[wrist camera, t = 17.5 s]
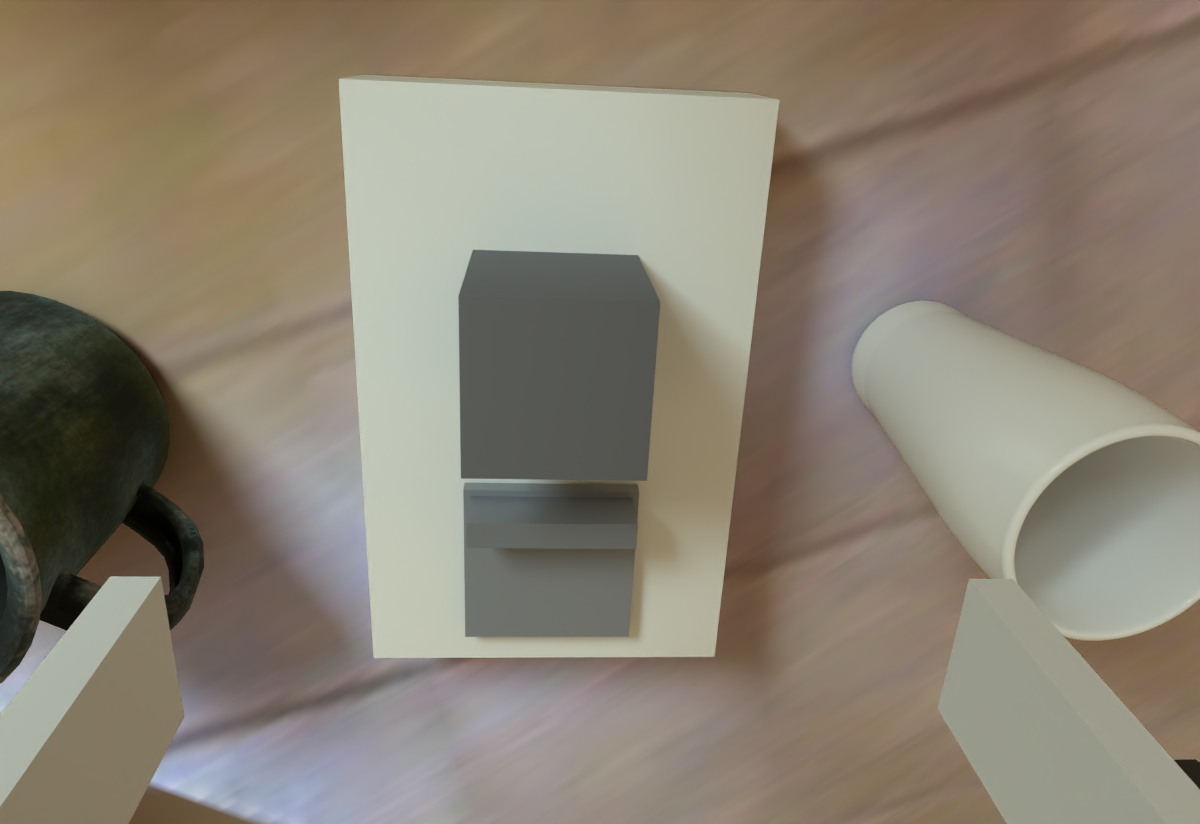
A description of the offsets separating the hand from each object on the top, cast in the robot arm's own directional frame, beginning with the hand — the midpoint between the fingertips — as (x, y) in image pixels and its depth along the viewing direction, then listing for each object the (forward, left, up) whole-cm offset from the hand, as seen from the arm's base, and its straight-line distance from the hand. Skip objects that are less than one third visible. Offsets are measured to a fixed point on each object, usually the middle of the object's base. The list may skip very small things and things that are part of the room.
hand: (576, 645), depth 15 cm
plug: (0, 0, -22) cm, 22 cm away
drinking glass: (+2, +15, -23) cm, 27 cm away
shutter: (+9, 0, -18) cm, 20 cm away
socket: (+3, 0, -22) cm, 23 cm away
